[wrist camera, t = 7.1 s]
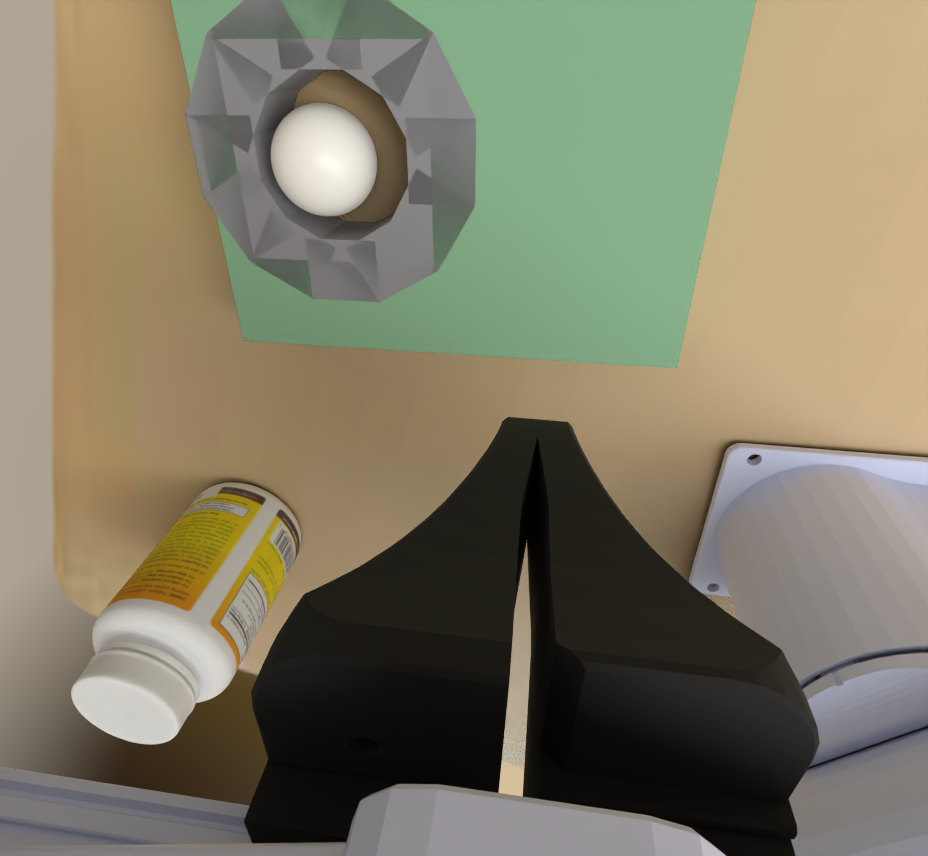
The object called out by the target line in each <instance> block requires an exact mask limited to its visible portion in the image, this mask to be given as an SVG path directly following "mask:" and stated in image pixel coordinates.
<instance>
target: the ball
mask: <svg viewBox="0 0 928 856" xmlns="http://www.w3.org/2000/svg"><path fill="white" fill-rule="evenodd" d="M271 164H272V169H273V173H274V176H275V178H276V181H277V183H278V185H279V186H280V188H281V190H282V191H283V192H284V194H285V195H286V196H287V197H288V198H289V199H290V200H291V201H292V202H293V203H294V204H295V205H297V206H298V207H300V208H301V209H303V210H305V211H307V212H309V213H312V214H315V215H319V216H339V215H342V214H346V213H348V212H350V211H352V210H354V209H355V208H357V207H358V206H359V205H361V204H362V203H363V202H364V200H365V199H366V198H367V197H368V195H369V194H370V192H371V190H372V188H373V186H374V183H375V180H376V175H377V155H376V150H375V147H374V143H373V141H372V138H371V136H370V135H369V133H368V131H367V130H366V128H365V127H364V125H363V124H362V123H361V122H360V121H359V120H358V119H357V118H356V117H355V116H354V115H353V114H351V113H350V112H348V111H347V110H345V109H343V108H341V107H339V106H336V105H333V104H329V103H309V104H305V105H302V106H300V107H298V108H296V109H294V110H293V111H291V112H290V113H288V114H287V115H286V116H285V117H284V118H283V120H282V121H281V122H280V124H279V125H278V127H277V129H276V131H275V133H274V136H273V139H272V144H271Z"/></svg>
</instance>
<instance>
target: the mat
mask: <svg viewBox="0 0 928 856" xmlns="http://www.w3.org/2000/svg"><path fill="white" fill-rule="evenodd" d="M755 4H756V0H171V5H172V9H173V14H174V19H175V23H176V28H177V33H178V37H179V42H180V47H181V51H182V56H183V61H184V65H185V70H186V75H187V80H188V84H189V89H190V94H191V95H190V99H189V102H188V106H187V110H186V114H185V115H186V119H187V124H188V128H189V133H190V137H191V142H192V147H193V151H194V156H195V160H196V165H197V169H198V174H199V178H200V183H201V187H202V192H203V196H204V198H205V200H206V201H207V202H208V204H209V205H210V207H211V208H212V209H213V211H214V212H215V214H216V216H217V220H218V225H219V230H220V234H221V239H222V244H223V248H224V253H225V258H226V262H227V267H228V272H229V277H230V281H231V286H232V291H233V295H234V300H235V305H236V309H237V314H238V319H239V323H240V328H241V333H242V338H243V341H259V342H275V343H290V344H306V345H321V346H337V347H352V348H368V349H383V350H399V351H414V352H430V353H445V354H461V355H476V356H492V357H507V358H523V359H538V360H554V361H570V362H585V363H601V364H616V365H632V366H647V367H663V368H677V366H678V361H679V356H680V352H681V347H682V343H683V338H684V333H685V329H686V324H687V319H688V315H689V310H690V305H691V301H692V296H693V291H694V287H695V282H696V278H697V273H698V268H699V264H700V259H701V254H702V250H703V245H704V240H705V236H706V231H707V226H708V222H709V217H710V213H711V208H712V203H713V199H714V194H715V189H716V185H717V180H718V175H719V171H720V166H721V161H722V157H723V152H724V148H725V143H726V138H727V134H728V129H729V124H730V120H731V115H732V110H733V106H734V101H735V96H736V92H737V87H738V83H739V78H740V73H741V69H742V64H743V59H744V55H745V50H746V45H747V41H748V36H749V31H750V27H751V22H752V18H753V13H754V8H755ZM325 70H344V71H346V72H347V73H349V74H350V75H352V76H353V77H355V78H356V79H358V80H359V81H361V82H362V83H364V84H365V85H367V86H368V87H370V88H371V89H373V90H374V91H376V92H377V93H379V94H380V95H382V96H383V98H384V99H385V101H386V103H387V105H388V107H389V109H390V110H391V112H392V114H393V116H394V118H395V119H396V121H397V123H398V125H399V127H400V129H401V130H402V132H403V134H404V136H405V138H406V145H407V167H408V187H407V189H406V191H405V193H404V195H403V197H402V199H401V201H400V203H399V205H398V207H397V209H396V211H395V213H394V214H392V215H390V216H389V217H387V218H385V219H384V220H382V221H380V222H352V221H343V220H342V219H340V218H339V217H337V216H319V215H315V214H312V213H309V212H307V211H305V210H303V209H301V208H300V207H298V206H297V205H295V204H294V203H293V202H292V201H291V200H290V199H289V198H288V197H287V196H286V195H285V194H284V192H283V191H282V190H281V188H280V186H279V185H278V183H277V181H276V178H275V176H274V173H273V169H272V164H271V144H272V139H273V136H274V133H275V131H276V129H277V127H278V125H279V124H280V122H281V121H282V120H283V118H284V117H285V116H286V115H287V114H288V113H290V112H291V111H292V108H293V106H294V103H295V100H296V97H297V94H298V91H299V90H300V89H301V88H303V87H304V86H305V85H307V84H308V83H309V82H311V81H312V80H313V79H315V78H316V77H317V76H319V75H320V74H321V73H323V72H324V71H325Z"/></svg>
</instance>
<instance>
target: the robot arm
mask: <svg viewBox="0 0 928 856" xmlns="http://www.w3.org/2000/svg"><path fill="white" fill-rule="evenodd" d="M753 454H757V455H758V457H757V458H755V459H752V460H749V459H748V457H749V456H751V455H753ZM526 542H527V548H528V572H529V594H530V617H531V662H530V680H529V699H528V716H527V734H526V751H525V768H524V784H523V797H521V796H514V795H508V794H501V793H498V791H499V780H500V770H501V760H502V750H503V740H504V730H505V719H506V709H507V699H508V688H509V677H510V664H511V650H512V636H513V620H514V609H515V603H516V597H517V592H518V586H519V581H520V575H521V570H522V564H523V558H524V553H525V547H526ZM710 584H715V585H710ZM704 594H708V595H718V596H727V597H730V599H731V602H732V605H733V608H734V612H735V615H736V618H737V619H735V618H734V617H732V616H731V615H730V614H728V613H727V612H725V611H724V610H723V609H722V608H720V607H719V606H718V605H716V604H715V603H714V602H713V601H711V600H710V599H709V598H707V597H706V596H705V595H704ZM251 695H252V706H253V711H254V714H255V717H256V720H257V723H258V727H259V730H260V733H261V737H262V740H263V743H264V746H265V750H266V753H267V756H268V762H267V764H266V767H265V770H264V772H263V774H262V777H261V779H260V782H259V784H258V787H257V789H256V791H255V794H254V796H253V799H252V801H251V804H250V806H247V805H240V804H234V803H228V802H222V801H215V800H209V799H202V798H196V797H190V796H183V795H177V794H171V793H164V792H158V791H152V790H145V789H139V788H132V787H126V786H120V785H113V784H107V783H101V782H94V781H88V780H81V779H75V778H68V777H62V776H56V775H49V774H43V773H37V772H31V771H24V770H18V769H11V768H4V767H0V856H928V458H927V457H914V456H901V455H888V454H876V453H863V452H850V451H837V450H825V449H812V448H799V447H786V446H773V445H761V444H748V443H736V444H734V445H731V446H730V447H729V448H728V449H727V450H726V452H725V455H724V459H723V462H722V466H721V469H720V473H719V476H718V480H717V483H716V486H715V490H714V493H713V497H712V500H711V504H710V507H709V511H708V514H707V518H706V521H705V525H704V528H703V532H702V535H701V539H700V542H699V545H698V549H697V552H696V556H695V559H694V563H693V566H692V570H691V573H690V577H689V582H688V581H687V580H685V579H684V578H683V577H682V576H681V575H680V574H679V573H678V572H677V571H675V570H674V569H673V568H672V567H671V566H670V565H669V564H668V563H667V562H666V561H665V560H664V559H662V558H661V557H660V556H659V555H658V554H657V553H656V552H655V551H654V550H653V549H652V548H651V547H650V546H649V544H648V543H647V542H646V541H645V540H644V539H643V538H642V537H641V535H640V534H639V533H638V532H637V531H636V530H635V529H634V527H633V526H632V525H631V524H630V522H629V521H628V520H627V519H626V517H625V516H624V515H623V514H622V512H621V511H620V509H619V508H618V507H617V505H616V504H615V503H614V501H613V500H612V498H611V497H610V496H609V494H608V493H607V491H606V490H605V488H604V487H603V485H602V483H601V482H600V480H599V478H598V477H597V475H596V474H595V472H594V470H593V469H592V467H591V465H590V464H589V462H588V460H587V458H586V456H585V454H584V452H583V450H582V448H581V446H580V444H579V442H578V440H577V438H576V435H575V433H574V430H573V428H572V426H571V425H570V424H569V423H568V422H561V421H549V420H537V419H525V418H513V417H508V418H506V419H505V420H504V421H502V424H501V427H500V429H499V431H498V433H497V435H496V436H495V438H494V440H493V441H492V443H491V444H490V446H489V448H488V449H487V451H486V452H485V453H484V455H483V456H482V458H481V459H480V460H479V462H478V463H477V464H476V466H475V467H474V469H473V470H472V471H471V472H470V474H469V475H468V476H467V477H466V478H465V479H464V481H463V482H462V483H461V484H460V485H459V486H458V487H457V489H456V490H455V491H454V492H453V493H452V494H451V495H450V496H449V497H448V498H447V499H446V500H445V502H444V503H443V504H442V505H440V506H439V507H438V508H437V509H436V510H435V511H434V512H433V513H432V514H431V515H430V516H429V517H428V518H427V519H425V520H424V521H423V522H422V523H421V524H419V525H418V526H417V527H416V528H414V529H413V530H412V531H411V532H410V533H408V534H407V535H406V536H405V537H403V538H402V539H401V540H399V541H398V542H397V543H395V544H394V545H392V546H391V547H390V548H388V549H386V550H385V551H383V552H382V553H380V554H379V555H377V556H376V557H374V558H372V559H371V560H369V561H368V562H366V563H365V564H363V565H361V566H360V567H358V568H356V569H354V570H353V571H351V572H349V573H347V574H345V575H343V576H341V577H339V578H337V579H335V580H333V581H331V582H329V583H327V584H325V585H323V586H321V587H319V588H317V589H315V590H312V591H310V592H308V593H306V594H304V595H303V597H302V598H301V600H300V601H299V602H298V604H297V605H296V607H295V608H294V610H293V611H292V613H291V614H290V616H289V617H288V619H287V621H286V622H285V624H284V625H283V627H282V628H281V630H280V631H279V633H278V635H277V637H276V639H275V640H274V642H273V644H272V646H271V648H270V651H269V653H268V655H267V657H266V659H265V661H264V664H263V666H262V668H261V670H260V672H259V675H258V677H257V679H256V682H255V684H254V687H253V689H252V692H251Z"/></svg>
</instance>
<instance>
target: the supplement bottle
mask: <svg viewBox="0 0 928 856" xmlns="http://www.w3.org/2000/svg"><path fill="white" fill-rule="evenodd" d="M300 545H301V531H300V528H299V525H298V522H297V520H296V518H295V517H294V515H293V513H292V512H291V511H290V509H289V508H288V507H287V506H286V505H285V504H284V503H283V502H282V501H281V500H279V499H278V498H277V497H275V496H274V495H272V494H271V493H269V492H267V491H265V490H263V489H261V488H258V487H255V486H252V485H249V484H244V483H233V482H230V483H222V484H218V485H215V486H212V487H210V488H208V489H206V490H205V491H203V492H202V493H201V494H200V495H199V496H198V497H197V498H196V499H195V500H194V501H193V502H192V504H191V505H190V506H189V507H188V509H187V510H186V511H185V512H184V513H183V515H182V516H181V517H180V518H179V519H178V521H177V522H176V523H175V524H174V525H173V527H172V528H171V529H170V530H169V532H168V533H167V534H166V535H165V536H164V538H163V539H162V540H161V541H160V542H159V544H158V545H157V546H156V547H155V548H154V550H153V551H152V552H151V553H150V555H149V556H148V557H147V558H146V560H145V561H144V562H143V563H142V564H141V566H140V567H139V568H138V569H137V571H136V572H135V573H134V574H133V575H132V577H131V578H130V579H129V580H128V582H127V583H126V584H125V585H124V586H123V588H122V589H121V590H120V591H119V592H118V594H117V595H116V596H115V597H114V598H113V600H112V601H111V602H110V603H109V604H108V606H107V607H106V608H105V609H104V611H103V612H102V613H101V615H100V616H99V617H98V619H97V621H96V623H95V625H94V628H93V632H92V641H93V646H94V649H95V652H96V655H95V656H94V657H93V658H92V659H91V660H90V662H89V665H88V666H87V668H86V669H85V670H84V671H83V673H82V674H81V676H80V677H79V678H78V679H77V681H76V682H75V683H74V685H73V687H72V691H71V696H72V700H73V702H74V705H75V706H76V708H77V709H78V710H79V712H80V713H81V714H82V715H83V716H84V717H85V718H86V719H87V720H88V721H90V722H91V723H92V724H94V725H95V726H97V727H98V728H100V729H102V730H103V731H105V732H107V733H109V734H111V735H113V736H116V737H118V738H121V739H124V740H127V741H131V742H135V743H140V744H160V743H164V742H167V741H169V740H171V739H172V738H173V737H175V736H176V735H177V733H178V732H179V730H180V728H181V727H182V725H183V723H184V722H185V720H186V718H187V717H188V715H189V714H190V713H191V712H192V710H193V708H194V706H195V703H197V702H202V701H206V700H209V699H211V698H213V697H215V696H217V695H218V694H220V693H221V692H222V691H223V690H224V689H225V688H226V687H227V686H228V685H229V683H230V682H231V680H232V678H233V676H234V674H235V673H236V671H237V669H238V667H239V665H240V663H241V662H242V660H243V658H244V656H245V654H246V652H247V650H248V648H249V646H250V644H251V642H252V641H253V639H254V637H255V635H256V633H257V631H258V629H259V627H260V625H261V623H262V622H263V620H264V618H265V616H266V614H267V612H268V610H269V608H270V606H271V605H272V603H273V601H274V599H275V597H276V595H277V593H278V591H279V589H280V587H281V586H282V584H283V582H284V580H285V578H286V576H287V574H288V572H289V570H290V568H291V566H292V564H293V562H294V561H295V559H296V557H297V555H298V552H299V550H300Z"/></svg>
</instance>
